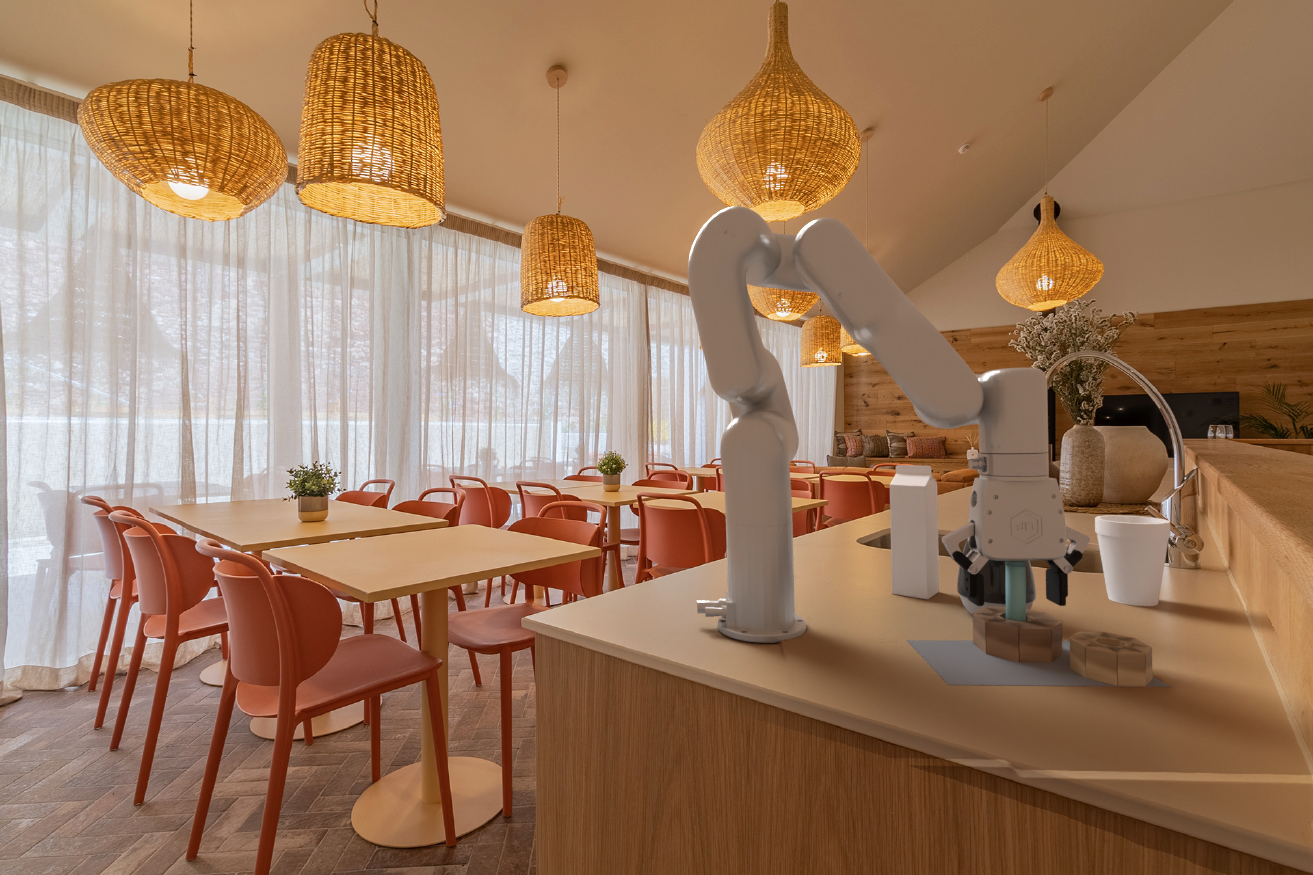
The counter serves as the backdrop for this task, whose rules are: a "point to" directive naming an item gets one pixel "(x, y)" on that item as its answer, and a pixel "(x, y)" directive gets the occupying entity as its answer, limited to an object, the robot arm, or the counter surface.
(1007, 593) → the teal rounded rod
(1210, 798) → the counter surface
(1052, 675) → the mat
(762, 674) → the counter surface
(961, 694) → the counter surface
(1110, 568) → the foam cup
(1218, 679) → the counter surface
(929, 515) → the milk
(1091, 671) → the oak bead
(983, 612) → the bead
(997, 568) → the pump dispenser
